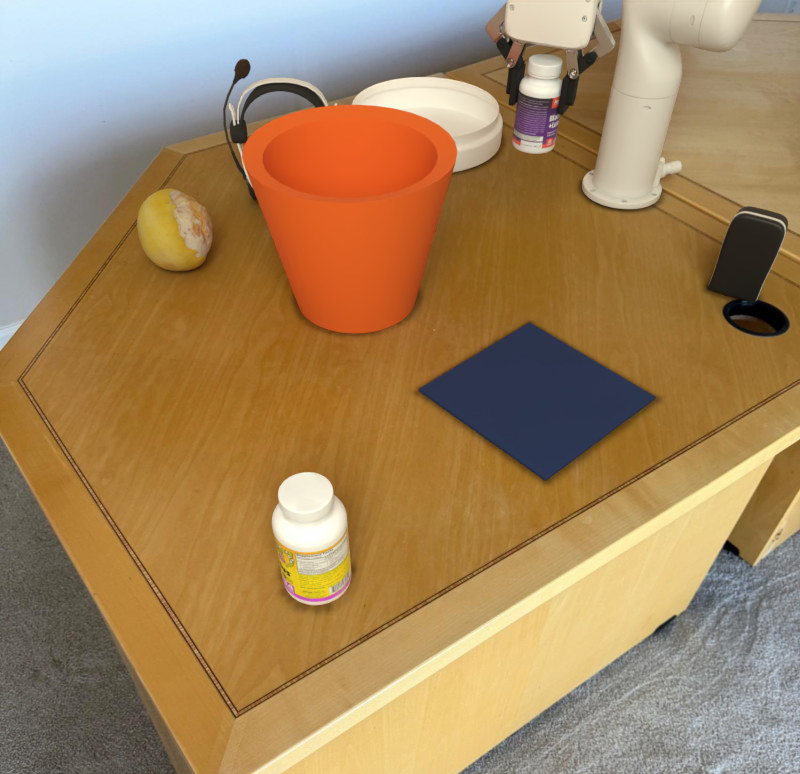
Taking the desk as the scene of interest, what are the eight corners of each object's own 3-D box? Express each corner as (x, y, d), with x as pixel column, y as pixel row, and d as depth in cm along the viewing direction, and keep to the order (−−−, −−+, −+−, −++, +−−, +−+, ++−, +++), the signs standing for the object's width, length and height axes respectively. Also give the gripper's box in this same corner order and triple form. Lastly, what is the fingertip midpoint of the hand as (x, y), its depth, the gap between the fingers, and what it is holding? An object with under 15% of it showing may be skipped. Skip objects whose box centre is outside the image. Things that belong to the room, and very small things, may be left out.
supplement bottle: (283, 555, 76) (267, 464, 66) (350, 550, 76) (343, 460, 66) (283, 611, 72) (264, 523, 62) (353, 606, 72) (346, 518, 62)
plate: (532, 149, 132) (536, 115, 128) (404, 190, 123) (405, 156, 119) (440, 95, 146) (442, 64, 142) (319, 129, 137) (317, 96, 133)
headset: (232, 212, 118) (208, 70, 103) (238, 187, 123) (216, 48, 108) (343, 211, 118) (335, 70, 103) (344, 187, 123) (337, 48, 108)
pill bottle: (552, 157, 94) (567, 70, 86) (509, 152, 95) (519, 65, 87) (556, 139, 97) (570, 53, 90) (514, 134, 98) (525, 49, 91)
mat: (529, 324, 100) (529, 322, 100) (655, 399, 91) (655, 396, 91) (418, 391, 92) (418, 388, 91) (545, 481, 82) (546, 478, 82)
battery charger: (762, 291, 105) (796, 212, 97) (755, 305, 103) (789, 226, 94) (712, 277, 108) (740, 198, 99) (704, 290, 105) (733, 211, 97)
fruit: (159, 292, 104) (141, 223, 97) (138, 254, 110) (119, 186, 103) (230, 274, 107) (218, 205, 100) (206, 238, 113) (192, 170, 106)
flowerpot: (484, 315, 101) (500, 166, 86) (319, 379, 93) (304, 225, 78) (386, 231, 115) (385, 89, 99) (234, 280, 106) (207, 133, 91)
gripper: (656, -81, 79) (615, 107, 92) (499, -100, 83) (482, 83, 97) (641, -64, 74) (600, 131, 88) (475, -84, 78) (461, 104, 92)
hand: (539, 104), depth 92 cm, fingers closed on pill bottle, 5 cm apart
